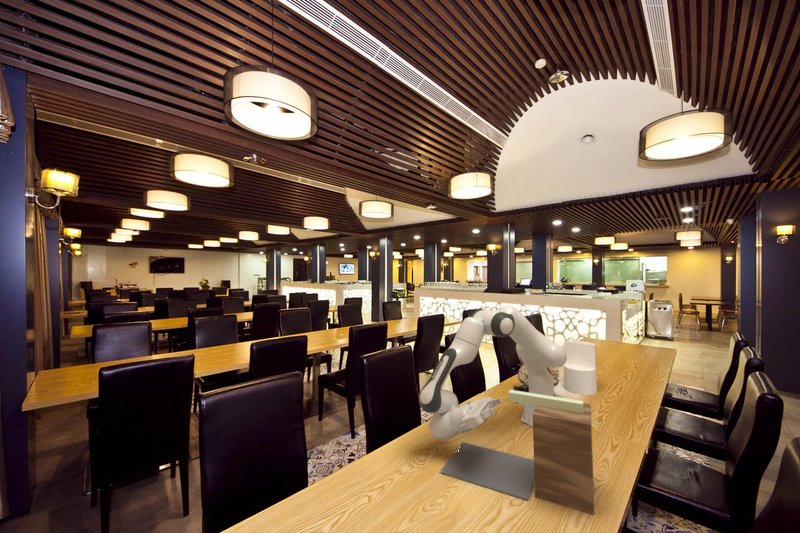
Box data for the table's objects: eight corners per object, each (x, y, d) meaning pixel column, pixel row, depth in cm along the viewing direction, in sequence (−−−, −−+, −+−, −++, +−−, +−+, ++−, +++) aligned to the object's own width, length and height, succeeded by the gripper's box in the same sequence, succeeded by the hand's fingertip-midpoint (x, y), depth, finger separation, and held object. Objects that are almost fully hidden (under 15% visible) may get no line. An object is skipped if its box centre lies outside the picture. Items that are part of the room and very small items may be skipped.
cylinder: (571, 383, 209) (570, 339, 210) (601, 390, 196) (599, 343, 197) (559, 389, 198) (557, 343, 199) (590, 397, 185) (588, 347, 186)
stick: (510, 398, 117) (510, 389, 118) (583, 410, 106) (583, 401, 106) (508, 400, 115) (508, 392, 115) (583, 413, 103) (582, 404, 103)
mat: (462, 442, 137) (462, 441, 137) (539, 462, 122) (539, 461, 122) (439, 473, 116) (439, 471, 116) (528, 501, 101) (528, 499, 101)
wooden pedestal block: (542, 467, 118) (540, 395, 119) (593, 481, 110) (590, 403, 111) (535, 497, 103) (532, 414, 104) (593, 515, 95) (590, 424, 96)
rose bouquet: (518, 407, 172) (517, 350, 173) (508, 388, 201) (506, 340, 202) (570, 409, 169) (568, 351, 170) (551, 390, 198) (550, 340, 199)
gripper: (452, 420, 116) (484, 407, 110) (470, 400, 134) (499, 388, 128) (461, 437, 114) (494, 425, 109) (478, 415, 132) (508, 403, 126)
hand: (497, 405), depth 118 cm, fingers open, 8 cm apart
